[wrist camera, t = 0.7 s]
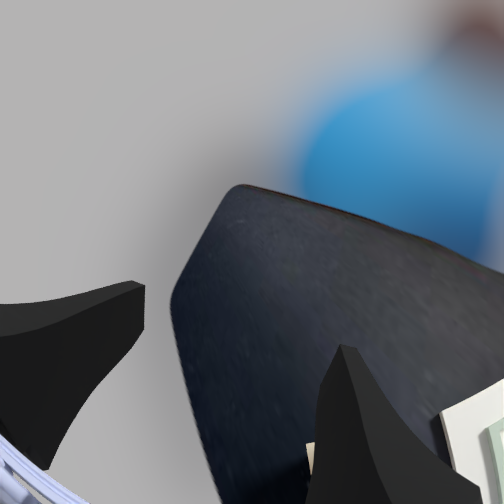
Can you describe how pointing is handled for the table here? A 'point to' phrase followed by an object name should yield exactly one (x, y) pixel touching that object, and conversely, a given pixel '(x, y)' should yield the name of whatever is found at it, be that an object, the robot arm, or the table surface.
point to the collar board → (478, 440)
